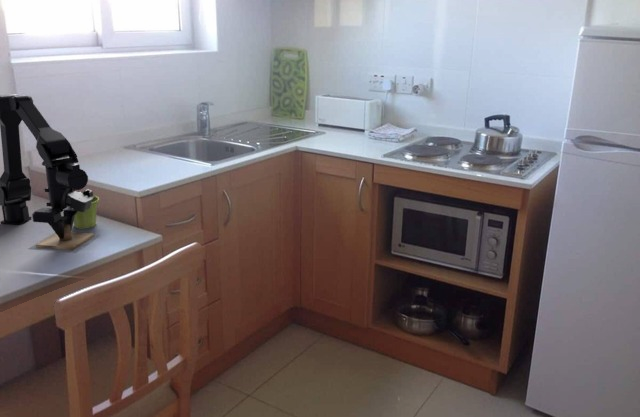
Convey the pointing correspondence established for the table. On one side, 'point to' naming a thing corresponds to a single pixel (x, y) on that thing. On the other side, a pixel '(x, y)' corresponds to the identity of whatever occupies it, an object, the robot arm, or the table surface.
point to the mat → (64, 249)
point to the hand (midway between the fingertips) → (65, 236)
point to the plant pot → (87, 216)
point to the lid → (65, 240)
